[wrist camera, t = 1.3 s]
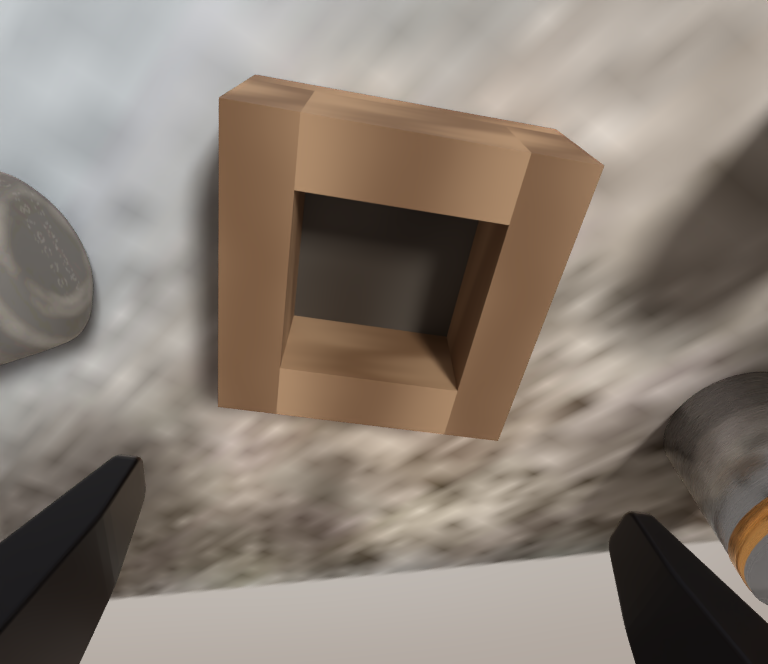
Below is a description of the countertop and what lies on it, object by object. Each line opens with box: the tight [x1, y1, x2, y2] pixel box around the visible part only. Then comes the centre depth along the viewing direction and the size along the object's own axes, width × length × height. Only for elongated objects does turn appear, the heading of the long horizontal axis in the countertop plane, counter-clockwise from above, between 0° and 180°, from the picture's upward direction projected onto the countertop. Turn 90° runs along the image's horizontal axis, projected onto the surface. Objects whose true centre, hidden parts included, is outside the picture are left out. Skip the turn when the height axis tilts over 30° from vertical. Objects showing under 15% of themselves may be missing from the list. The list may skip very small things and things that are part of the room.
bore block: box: [218, 75, 604, 441], centre depth 18 cm, size 10×10×4 cm
